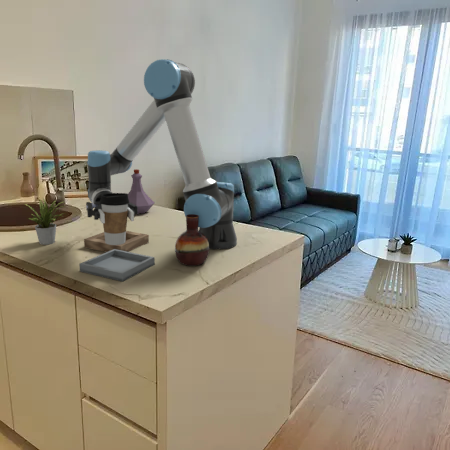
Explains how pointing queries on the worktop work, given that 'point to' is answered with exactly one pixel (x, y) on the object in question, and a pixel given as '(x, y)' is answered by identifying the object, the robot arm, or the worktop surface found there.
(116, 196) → the coffee cup
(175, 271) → the worktop surface
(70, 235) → the worktop surface
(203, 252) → the vase
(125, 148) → the robot arm
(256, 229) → the worktop surface
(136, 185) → the flask
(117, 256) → the tray
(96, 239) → the square wooden frame
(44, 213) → the house plant
